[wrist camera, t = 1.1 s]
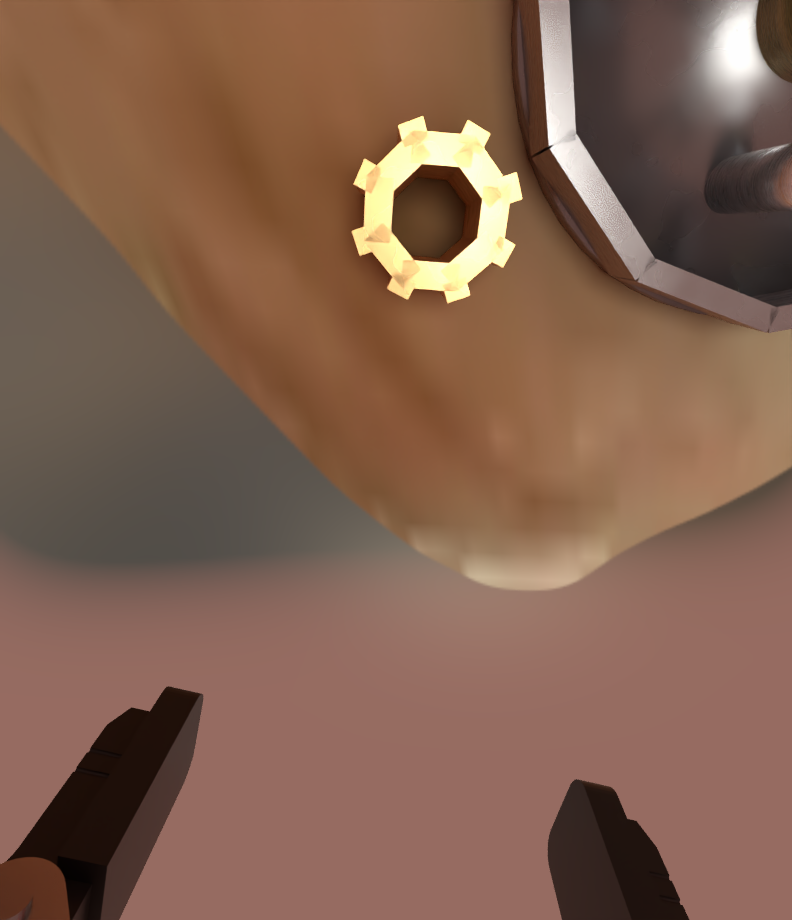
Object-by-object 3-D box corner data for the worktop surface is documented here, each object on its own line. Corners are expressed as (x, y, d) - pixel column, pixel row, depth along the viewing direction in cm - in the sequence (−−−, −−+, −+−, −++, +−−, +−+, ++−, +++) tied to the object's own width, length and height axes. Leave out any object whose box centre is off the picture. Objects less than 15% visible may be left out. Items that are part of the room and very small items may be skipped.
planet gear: (332, 210, 24) (317, 204, 20) (438, 106, 23) (449, 73, 18) (419, 316, 26) (424, 334, 21) (523, 226, 24) (552, 225, 20)
